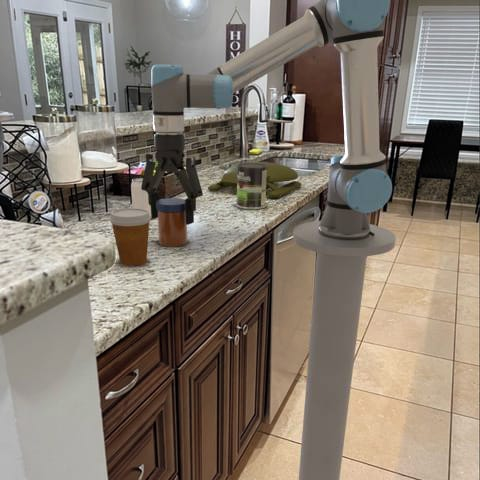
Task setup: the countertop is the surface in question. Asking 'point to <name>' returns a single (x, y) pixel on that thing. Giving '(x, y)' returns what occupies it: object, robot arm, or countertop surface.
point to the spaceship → (273, 175)
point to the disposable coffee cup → (131, 234)
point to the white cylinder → (139, 195)
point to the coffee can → (251, 185)
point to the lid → (170, 205)
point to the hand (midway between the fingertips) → (172, 220)
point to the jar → (172, 228)
